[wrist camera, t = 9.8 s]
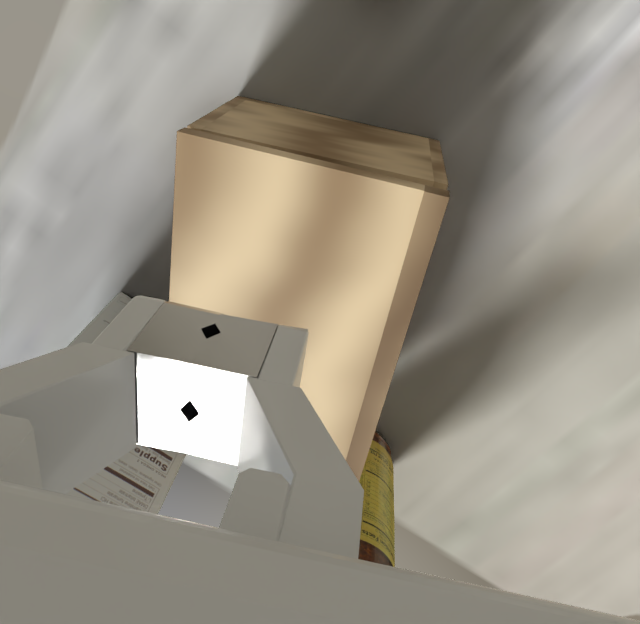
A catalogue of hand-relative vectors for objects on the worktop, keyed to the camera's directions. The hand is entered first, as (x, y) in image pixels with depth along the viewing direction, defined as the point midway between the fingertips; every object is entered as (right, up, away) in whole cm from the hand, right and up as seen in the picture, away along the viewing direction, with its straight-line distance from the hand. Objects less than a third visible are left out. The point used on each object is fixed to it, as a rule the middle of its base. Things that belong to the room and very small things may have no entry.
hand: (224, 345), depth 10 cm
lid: (0, 0, +17) cm, 17 cm away
